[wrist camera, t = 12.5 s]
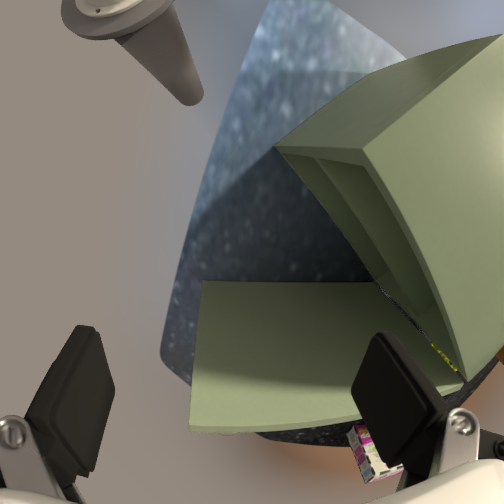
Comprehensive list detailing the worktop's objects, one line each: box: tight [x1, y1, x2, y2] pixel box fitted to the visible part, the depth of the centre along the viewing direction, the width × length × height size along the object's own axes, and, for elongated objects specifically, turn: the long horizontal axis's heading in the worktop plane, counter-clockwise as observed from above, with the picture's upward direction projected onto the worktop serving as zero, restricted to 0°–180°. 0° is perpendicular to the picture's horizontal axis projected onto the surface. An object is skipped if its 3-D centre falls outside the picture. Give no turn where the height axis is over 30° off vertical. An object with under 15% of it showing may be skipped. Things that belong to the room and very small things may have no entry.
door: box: [189, 281, 464, 436], centre depth 32 cm, size 8×26×24 cm, turn 86°
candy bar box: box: [346, 423, 404, 484], centre depth 52 cm, size 11×5×16 cm, turn 79°
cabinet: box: [274, 34, 504, 382], centre depth 26 cm, size 18×26×24 cm
